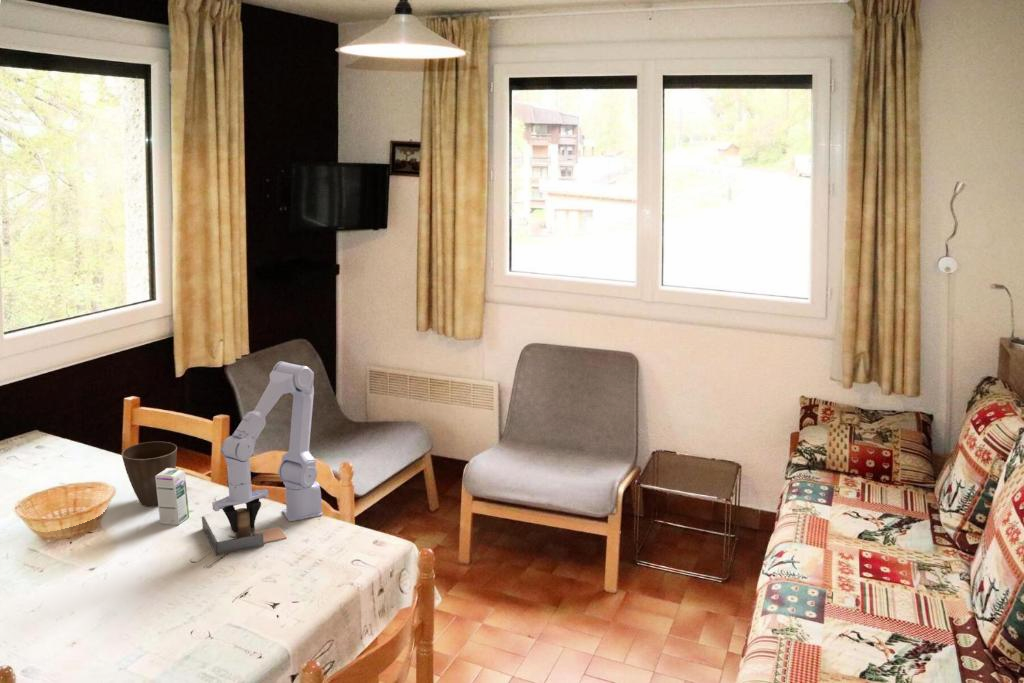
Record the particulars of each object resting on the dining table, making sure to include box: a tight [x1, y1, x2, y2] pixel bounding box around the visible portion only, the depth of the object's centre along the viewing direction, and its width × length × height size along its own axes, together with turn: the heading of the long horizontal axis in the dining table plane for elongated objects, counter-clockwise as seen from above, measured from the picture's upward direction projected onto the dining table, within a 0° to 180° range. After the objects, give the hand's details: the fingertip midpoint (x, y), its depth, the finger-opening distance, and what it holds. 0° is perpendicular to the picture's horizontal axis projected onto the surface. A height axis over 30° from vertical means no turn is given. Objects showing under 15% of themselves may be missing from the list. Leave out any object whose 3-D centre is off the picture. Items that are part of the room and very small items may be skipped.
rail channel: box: [201, 516, 265, 557], centre depth 251 cm, size 12×18×4 cm
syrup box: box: [155, 467, 190, 526], centre depth 260 cm, size 6×6×14 cm
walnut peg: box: [234, 507, 252, 538], centre depth 248 cm, size 4×4×7 cm
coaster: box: [253, 526, 288, 544], centre depth 252 cm, size 7×7×1 cm
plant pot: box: [121, 441, 178, 508], centre depth 272 cm, size 15×15×16 cm
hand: (242, 529), depth 248 cm, fingers closed on walnut peg, 4 cm apart
